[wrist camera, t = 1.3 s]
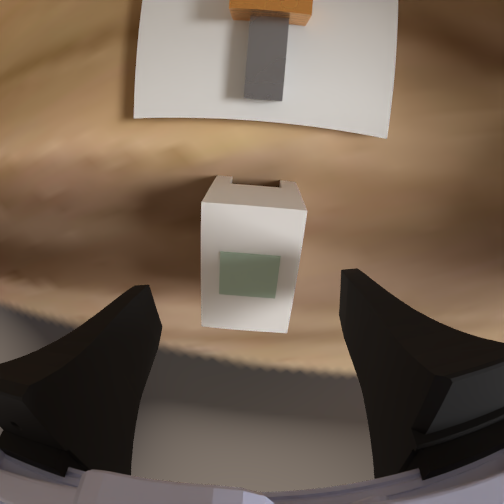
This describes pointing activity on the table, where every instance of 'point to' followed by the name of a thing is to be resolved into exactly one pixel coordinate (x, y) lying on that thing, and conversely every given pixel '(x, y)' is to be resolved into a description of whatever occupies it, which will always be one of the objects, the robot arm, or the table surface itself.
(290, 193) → the block
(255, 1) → the din rail
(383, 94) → the rail board
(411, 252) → the table surface
